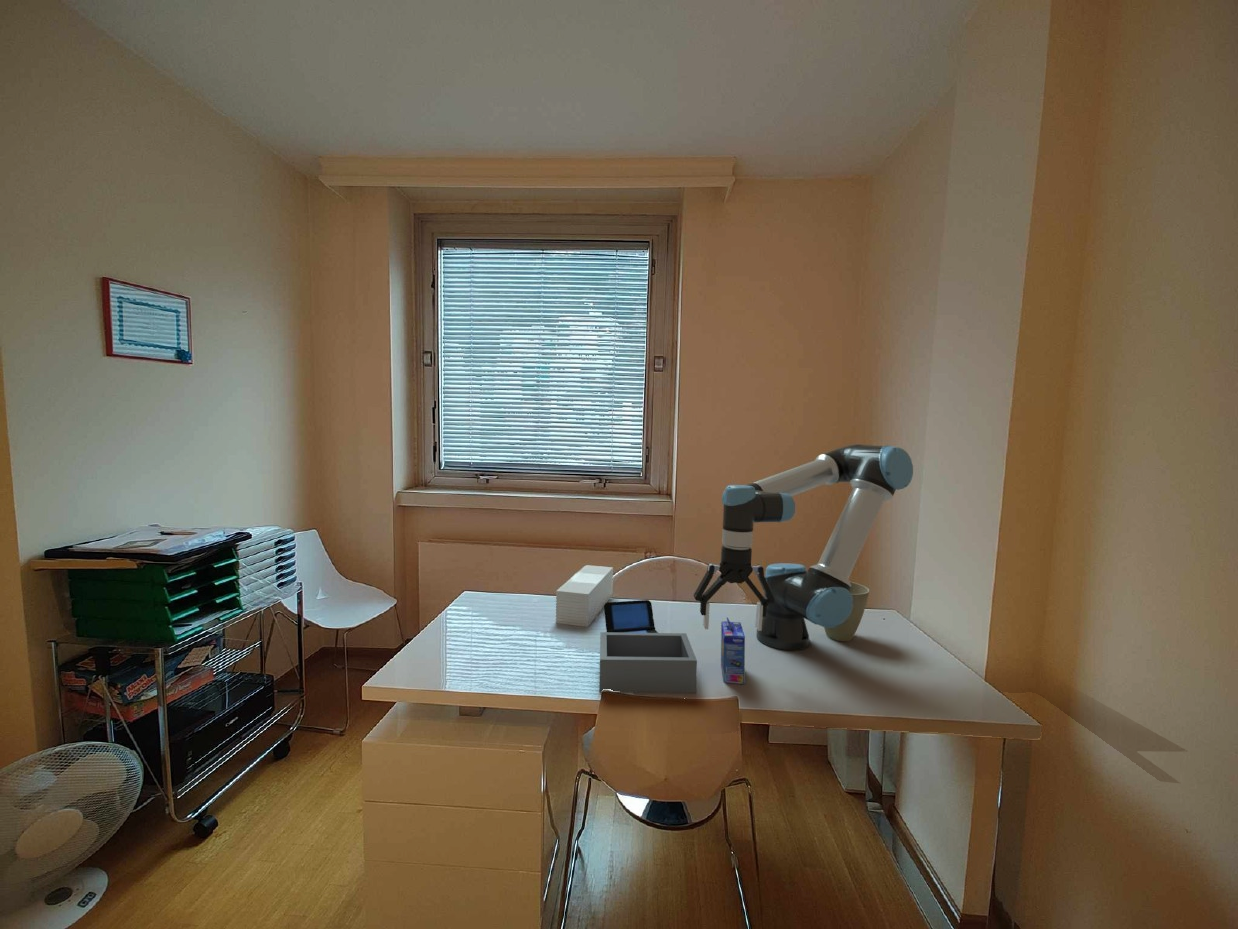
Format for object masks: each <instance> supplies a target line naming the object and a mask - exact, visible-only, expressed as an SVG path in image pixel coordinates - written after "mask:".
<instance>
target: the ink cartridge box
mask: <svg viewBox="0 0 1238 929" xmlns="http://www.w3.org/2000/svg"><path fill="white" fill-rule="evenodd" d="M720 624H721V625H720V626H721V628H720V629H721V631H720V637H721V638H720V642H721V643H720V668H721V676H722V681H723V683H726V684H739V685H744V684H745V680H746V679H745V678H746V677H745V676H746V675H745V674H746V673H745V671H746V667H745V664H746V663H745V660H746V659H745V658H746V655H745V654H746V653H745V652H746V650H745V649H746V636H745V633H744V630H743V626H742V623H741V622H740V621H739V622H736V621H730V619H729V618H728V617H726V621H725V620H724V621H721V622H720Z"/></svg>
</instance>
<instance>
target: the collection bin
mask: <svg viewBox="0 0 1238 929" xmlns="http://www.w3.org/2000/svg"><path fill="white" fill-rule="evenodd" d="M599 638H600V644H599V646H600V648H599V683H598V684H599V686H598V688H599V689H598V691H599V693H602V692H601V691H602V690H603V689H611V690H613V691H620V692H619V693H637V694H638V693H640V694H641V693H643V694H644V693H647V694H648V693H651V694H652V693H654V694H655V693H659V694H661V693H662V694H664V693H665V694H696V693H697V672H698V671H697V669H698V667H697V665H698V659H697V658H696V655H695V652H694V650H693V648H692V644H691V642H690V640H689V637H688V635H687V633H683V632H679V633H678V632H676V633H675V632H674V633H673V632H658V633H617V632H603V631H602V632H600V637H599Z"/></svg>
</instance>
